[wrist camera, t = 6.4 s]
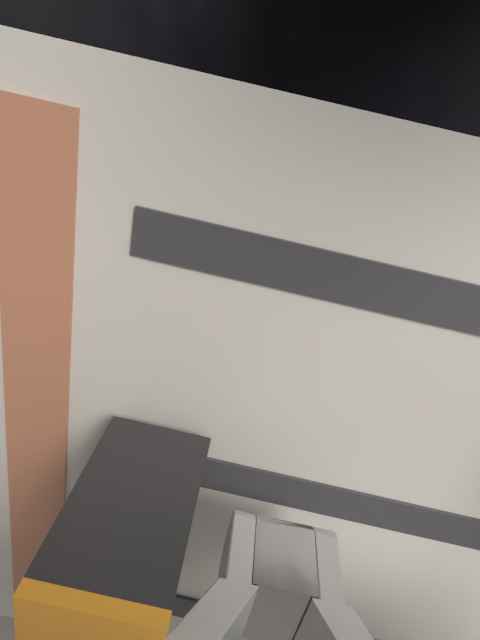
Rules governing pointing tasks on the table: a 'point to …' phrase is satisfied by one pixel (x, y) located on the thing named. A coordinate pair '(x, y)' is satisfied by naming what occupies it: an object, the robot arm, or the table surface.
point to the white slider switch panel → (244, 317)
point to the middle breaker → (116, 540)
